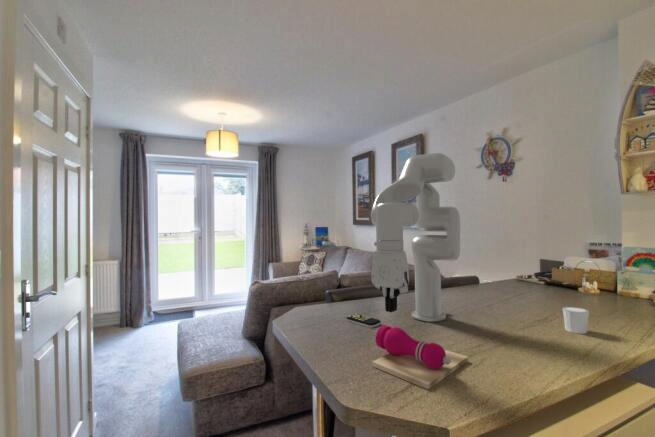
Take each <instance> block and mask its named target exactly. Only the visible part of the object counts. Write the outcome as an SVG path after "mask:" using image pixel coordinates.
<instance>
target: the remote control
mask: <svg viewBox="0 0 655 437" xmlns="http://www.w3.org/2000/svg"><path fill="white" fill-rule="evenodd" d="M346 321H347V322H348V321H349V323H353V324H355V325H358V326H363V327H366V328H371V329H372V328H377V327H378V326H380V325H381V320H380V319H378V318H374V317H369V316H365V315H363V314H360V313H354V314H351V315H347V317H346Z"/></svg>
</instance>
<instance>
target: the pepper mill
mask: <svg viewBox="0 0 655 437" xmlns="http://www.w3.org/2000/svg"><path fill="white" fill-rule="evenodd" d="M375 344H376V346H377V347H379V348H380V349H383V350H386V352H387V354H389V353H390V354H392V355H397V356H400V355H411V356H413V357H415V358H416V359H417V360H418V361H421V362H422V363H425V364H426V366H427V367H429V368H431V369H439V368H441V367H442V366H443V365H444V364H446V365H449V364H450V362H451V361H450V358H449V357H446V353H445V350H446V349H445V348H444V347H442V345H440V344H439V343H437V342H430V343H429V342H427V341H425V340H421V341H419V340H415V339H413V338H412V337H411V336H410V335H409V333H407V332H406V331H405V330H404V329H402V328H400V327H398V326H394V327H393V326H392V327H391V326H389V325H386V324H383V325H381V326H380V327H378V329H377V332H376V335H375Z"/></svg>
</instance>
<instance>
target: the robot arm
mask: <svg viewBox="0 0 655 437" xmlns="http://www.w3.org/2000/svg"><path fill="white" fill-rule="evenodd" d="M455 174H456V167H455V164H454V161H453V160H452V159H451V158H450V157H448V156H447V155H446V154H444V153H440V152H433V153H426V154H418V155H417V154H416V155H412V156H410V157H408V159H406V161H405V163H404V165H403V168H402V170H401V172H400V175H399V177H398V180H396V181H394V182H393V183H392V184H390V185H388V186H387V187H386V188H385V189H383V190H382V191H380V193H379V194H378V195H377V196H376V198H375V200H374V202H373V205H372V207H371V211H370V220H371V222H372V224H373V225H374V226H375V238H376V239H375V241H374V242H373V246H375V247H376V250H373V251H374V252H373V255H372V262H371V263H372V264H371V282H372V284H373V285H374V287H375V288H376V289H378V290H380V292H382V296H383V297H384V302H385V303H384V306H385V312H388V313H393V312H396V311H397V310H398V297H400V295H401V294H404V293H405V294H406V293H408V292H409V288H408V286H409V283H410V275H409V274H410V273H409V263H408V257H407V253H406V251H405V250H404V228H412V227H414V226H415V225H416V227H417V229H418V230H419V231H422V232H433V233H435V232H438V233H440V232H443V233H444V232H445V233H446V234H419V235H417V236H414V238H413V239H412V240H411V251H412V258H413V265H414V297H415V299H414V300H415V310H413V311H412V312H411V317H412V318H413V319H415V320H418V321H422V322H432V323H433V322H434V323H435V322H442V321H445V320H446V319H447V315H446V314H445V313H444V312H443V311H442V309H445V307H446V304H445V303H444V302H442V281H441V280H442V279H441V275H442V274H441V270H440V268H439V266H438V265H437V263H436V262H435V261H448V262H449V261H450V262H451V261H452V262H454V261H456V260H458V259H459V258H460V254H461V215H460V212H459V210H458V209H457V208H456V207H455V206H440V203H441V202H440V201H441V200H440V197H441V196H440V193H439V191H437V189H436V188H435V187H434V186H433V185H432V184H434V183H446V182H450V181H452V180H453V179H454V177H455ZM413 198H416V205H415V204H413V203H411V202H406V201H409V200H411V199H413Z"/></svg>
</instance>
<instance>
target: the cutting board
mask: <svg viewBox="0 0 655 437" xmlns="http://www.w3.org/2000/svg"><path fill="white" fill-rule="evenodd" d="M444 350H445V353H446V357H449V358H450V361H451V362H450V364H449V365H446V364H444V365H443V366H442V367H441V368H439V369H431V368H429V367H427V366H426V364H425V363H422V362H421V361H418V360H417V359H416V358H415V357H413V356H411V355H400V356H397V355H392V354H390V353H387V354H385V355H383V356H380V357H379V358H376V359H375V360H373V361H372V362H371V364H372V366H371V367H374V368H375V369H378V370H380V371H383V372H385V373H387V374H390V375H392V376H394V377H397V378H399V379H402V380H404V381H406V382H409V383H412V384H413V385H416V386H418V387H421V388H422V389H426V390H430V389H432V388H433V387H435V386H436V385H437V384H439V383H440V382H442V381H443V380H444V379H446V378H447V377H449V376H450V375H451V374H452V373H453V372H456V370H458V369H459V368H461V367H462V366H464V365H465V364H466V363H468V362H469V357H468V356H466V355H464V354H460V353H457V352H453V351H451V350H446V349H444Z"/></svg>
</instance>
